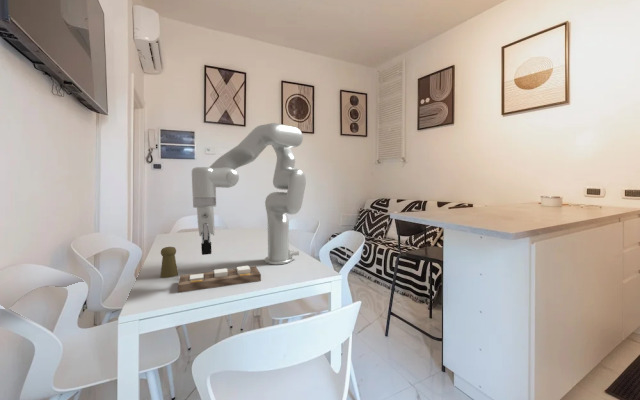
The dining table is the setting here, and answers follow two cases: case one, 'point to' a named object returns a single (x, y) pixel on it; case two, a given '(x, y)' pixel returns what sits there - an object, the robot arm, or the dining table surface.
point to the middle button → (220, 272)
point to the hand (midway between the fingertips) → (206, 253)
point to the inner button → (243, 270)
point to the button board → (217, 280)
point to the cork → (168, 262)
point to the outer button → (196, 277)
